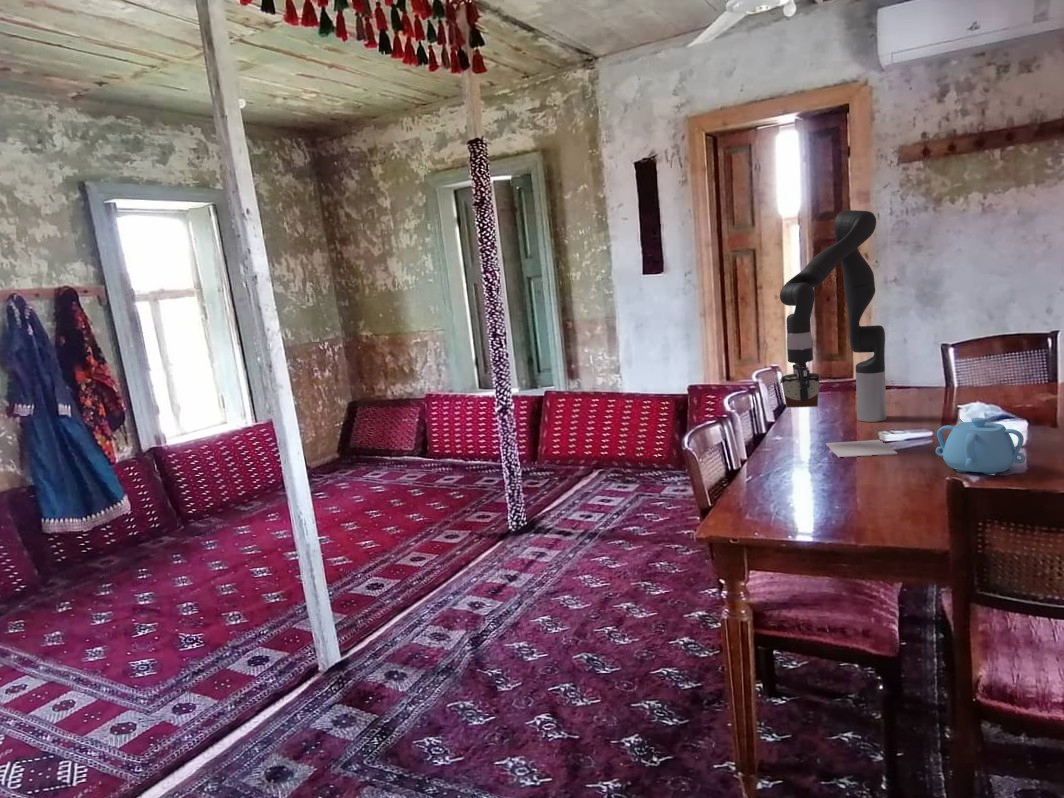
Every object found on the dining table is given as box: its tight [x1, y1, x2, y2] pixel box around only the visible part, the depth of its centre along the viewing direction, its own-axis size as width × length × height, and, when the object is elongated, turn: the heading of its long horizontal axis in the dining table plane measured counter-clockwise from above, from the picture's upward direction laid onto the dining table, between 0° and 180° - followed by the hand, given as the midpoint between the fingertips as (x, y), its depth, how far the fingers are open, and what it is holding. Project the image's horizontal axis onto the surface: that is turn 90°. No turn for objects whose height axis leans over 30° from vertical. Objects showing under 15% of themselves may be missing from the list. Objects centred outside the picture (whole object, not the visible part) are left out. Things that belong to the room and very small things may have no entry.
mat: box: [825, 439, 898, 459], centre depth 206 cm, size 16×16×1 cm
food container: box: [779, 372, 823, 409], centre depth 217 cm, size 12×6×10 cm, turn 65°
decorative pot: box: [935, 417, 1026, 476], centre depth 176 cm, size 16×16×14 cm
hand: (802, 398), depth 217 cm, fingers closed on food container, 5 cm apart
